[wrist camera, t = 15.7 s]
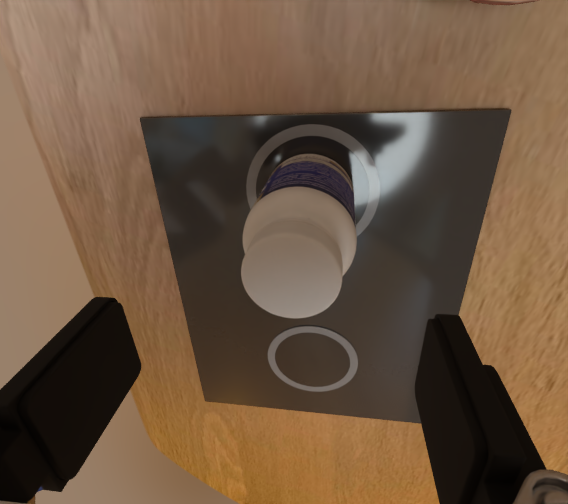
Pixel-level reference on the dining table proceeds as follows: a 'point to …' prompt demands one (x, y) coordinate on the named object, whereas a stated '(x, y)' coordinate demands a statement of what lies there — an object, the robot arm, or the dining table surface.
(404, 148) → the hob
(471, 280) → the dining table surface
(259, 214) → the pill bottle
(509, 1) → the anatomical model
